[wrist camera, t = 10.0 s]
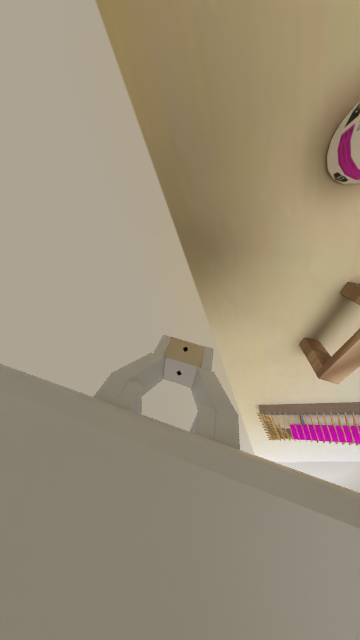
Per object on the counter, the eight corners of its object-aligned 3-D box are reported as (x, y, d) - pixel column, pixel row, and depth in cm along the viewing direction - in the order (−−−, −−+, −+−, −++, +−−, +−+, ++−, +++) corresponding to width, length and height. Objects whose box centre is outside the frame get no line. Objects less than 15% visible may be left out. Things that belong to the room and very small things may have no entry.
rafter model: (266, 428, 53) (270, 449, 48) (255, 401, 48) (257, 422, 43) (426, 433, 37) (456, 466, 32) (433, 395, 32) (470, 426, 27)
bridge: (299, 344, 34) (318, 378, 27) (348, 281, 26) (395, 304, 19) (313, 348, 34) (337, 384, 26) (368, 286, 26) (425, 311, 18)
